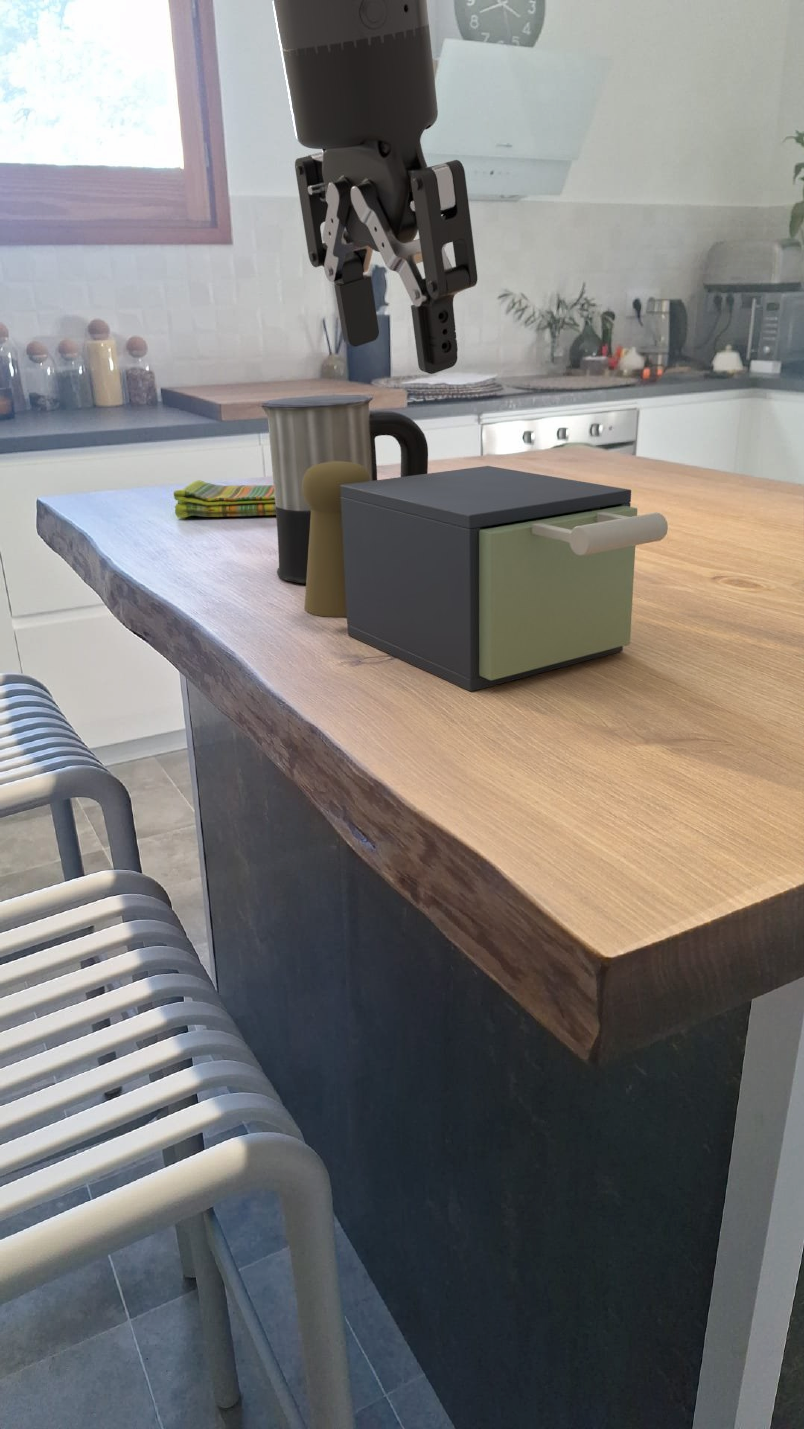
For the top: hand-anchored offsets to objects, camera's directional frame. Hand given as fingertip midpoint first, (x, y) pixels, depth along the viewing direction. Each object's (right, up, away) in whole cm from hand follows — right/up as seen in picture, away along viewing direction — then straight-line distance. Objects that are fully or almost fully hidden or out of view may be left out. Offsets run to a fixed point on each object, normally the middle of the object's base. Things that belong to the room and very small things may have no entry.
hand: (398, 355), depth 60 cm
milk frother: (-6, -7, +33) cm, 35 cm away
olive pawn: (-4, -13, +19) cm, 24 cm away
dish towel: (-8, +4, +62) cm, 63 cm away
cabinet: (+6, -16, +10) cm, 20 cm away
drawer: (+8, -17, +6) cm, 20 cm away
